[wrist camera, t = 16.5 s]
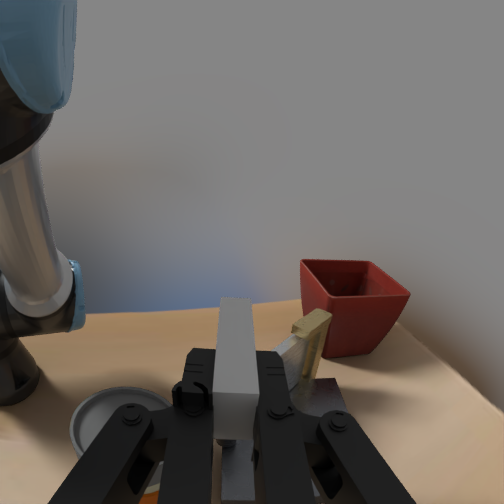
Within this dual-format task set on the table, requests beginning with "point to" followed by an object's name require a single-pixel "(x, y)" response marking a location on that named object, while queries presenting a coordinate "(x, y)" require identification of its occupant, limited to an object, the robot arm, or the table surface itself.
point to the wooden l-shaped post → (313, 339)
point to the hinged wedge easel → (286, 366)
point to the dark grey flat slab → (239, 455)
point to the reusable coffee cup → (97, 414)
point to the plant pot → (351, 303)
